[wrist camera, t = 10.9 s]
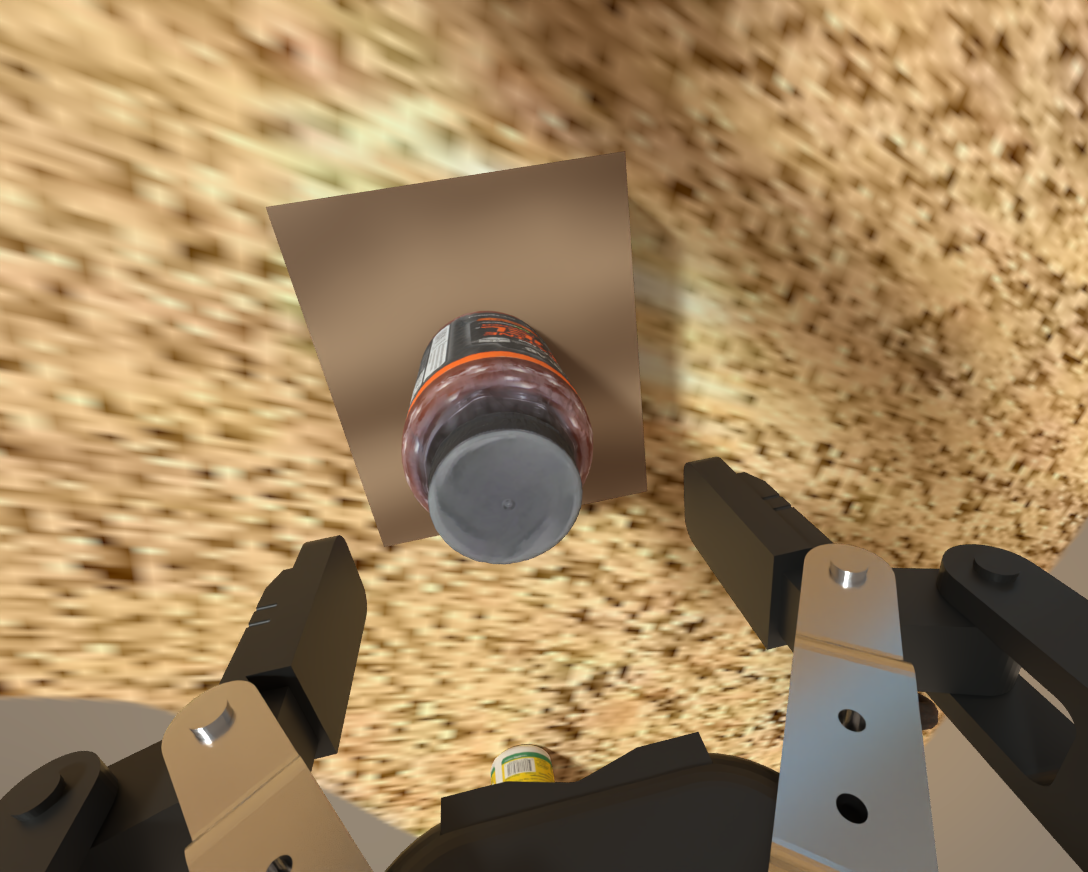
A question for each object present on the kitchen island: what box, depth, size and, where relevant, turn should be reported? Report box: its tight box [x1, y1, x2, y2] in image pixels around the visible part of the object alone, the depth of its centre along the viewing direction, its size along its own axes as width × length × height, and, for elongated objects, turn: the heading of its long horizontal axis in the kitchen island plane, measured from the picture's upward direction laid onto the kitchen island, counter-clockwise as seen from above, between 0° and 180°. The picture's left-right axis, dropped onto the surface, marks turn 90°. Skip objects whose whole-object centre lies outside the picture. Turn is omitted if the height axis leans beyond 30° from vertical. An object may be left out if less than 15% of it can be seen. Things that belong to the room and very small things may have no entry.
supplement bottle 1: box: [401, 311, 593, 564], centre depth 18 cm, size 6×6×11 cm
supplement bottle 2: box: [491, 745, 555, 785], centre depth 40 cm, size 5×5×10 cm
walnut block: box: [266, 151, 647, 547], centre depth 26 cm, size 16×14×6 cm
